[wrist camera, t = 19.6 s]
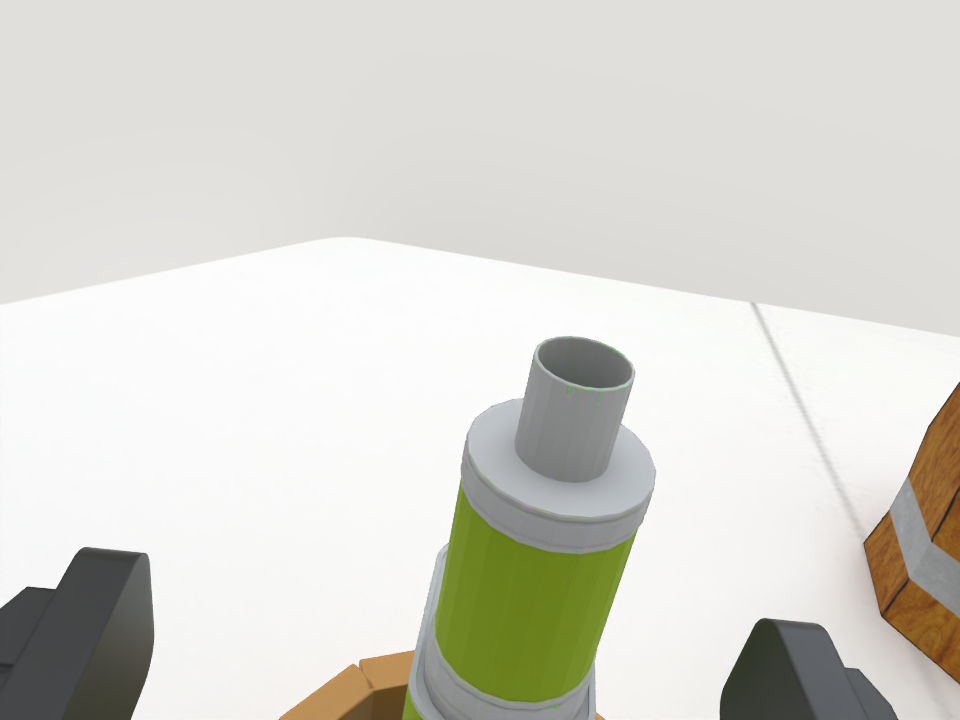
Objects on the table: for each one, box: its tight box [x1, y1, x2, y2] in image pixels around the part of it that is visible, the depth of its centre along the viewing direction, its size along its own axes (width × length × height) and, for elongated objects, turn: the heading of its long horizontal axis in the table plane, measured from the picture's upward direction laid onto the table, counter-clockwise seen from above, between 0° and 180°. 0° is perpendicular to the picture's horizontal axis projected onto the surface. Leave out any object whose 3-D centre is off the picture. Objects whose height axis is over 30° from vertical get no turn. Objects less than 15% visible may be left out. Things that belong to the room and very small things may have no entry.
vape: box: [402, 336, 656, 720], centre depth 18 cm, size 4×6×20 cm, turn 174°
